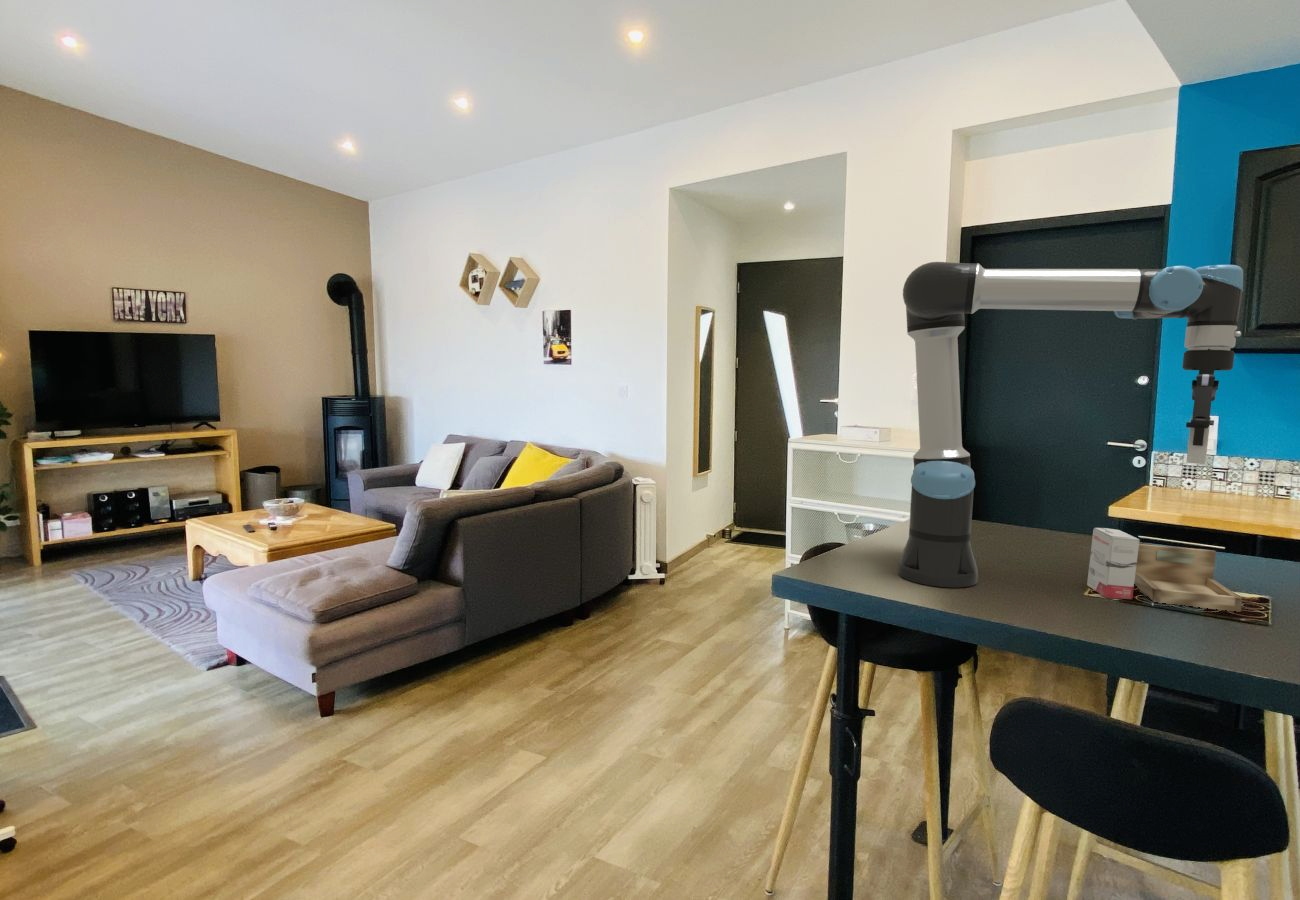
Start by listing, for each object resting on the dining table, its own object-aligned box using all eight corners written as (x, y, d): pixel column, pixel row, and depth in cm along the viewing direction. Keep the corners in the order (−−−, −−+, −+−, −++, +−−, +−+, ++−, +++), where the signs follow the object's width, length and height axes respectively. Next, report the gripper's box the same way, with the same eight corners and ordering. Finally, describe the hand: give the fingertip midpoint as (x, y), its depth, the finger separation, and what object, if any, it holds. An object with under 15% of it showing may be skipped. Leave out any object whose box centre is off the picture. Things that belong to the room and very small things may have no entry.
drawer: (1153, 602, 126) (1157, 560, 125) (1131, 581, 139) (1135, 543, 138) (1240, 612, 121) (1245, 568, 120) (1209, 589, 134) (1213, 550, 133)
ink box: (1135, 600, 127) (1141, 538, 126) (1105, 598, 128) (1110, 536, 127) (1113, 586, 135) (1118, 528, 134) (1085, 584, 136) (1090, 526, 135)
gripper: (1236, 346, 117) (1221, 468, 120) (1233, 352, 136) (1221, 457, 139) (1181, 346, 122) (1168, 463, 124) (1186, 352, 141) (1175, 453, 143)
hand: (1196, 460), depth 132 cm, fingers open, 13 cm apart
